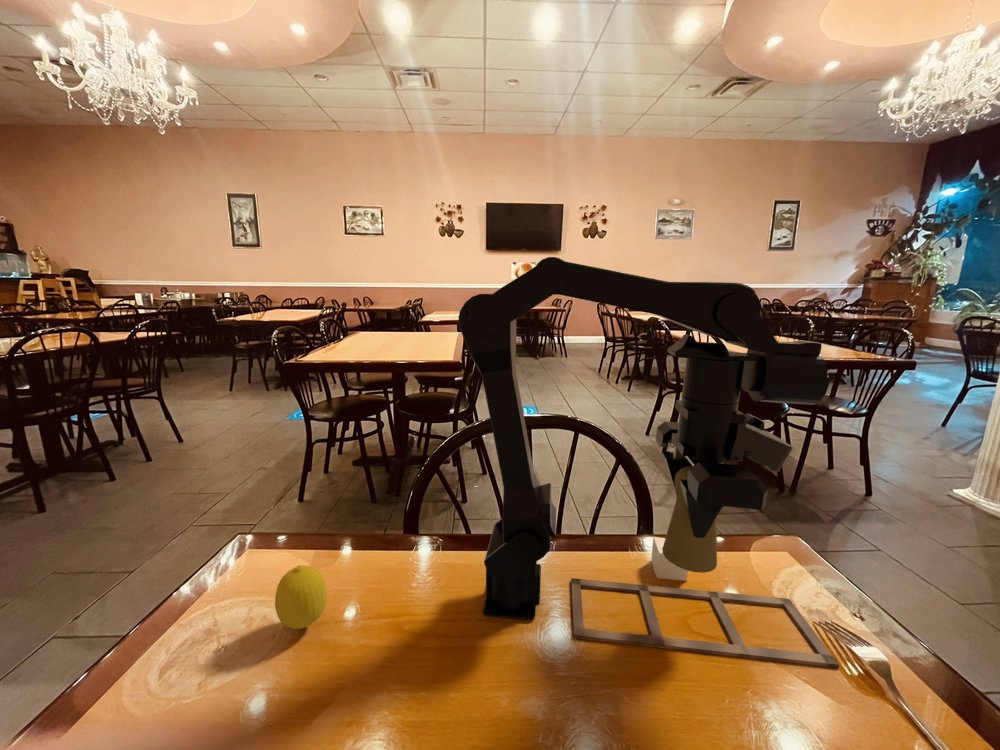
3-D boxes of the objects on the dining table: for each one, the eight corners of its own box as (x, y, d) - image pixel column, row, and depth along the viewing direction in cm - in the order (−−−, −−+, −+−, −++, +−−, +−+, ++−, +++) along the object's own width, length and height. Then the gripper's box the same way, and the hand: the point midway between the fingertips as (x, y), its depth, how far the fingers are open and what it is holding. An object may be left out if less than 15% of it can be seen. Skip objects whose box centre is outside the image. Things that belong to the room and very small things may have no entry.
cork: (723, 576, 48) (737, 485, 46) (667, 568, 49) (678, 478, 47) (709, 546, 54) (720, 463, 51) (658, 538, 55) (668, 458, 53)
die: (657, 578, 60) (659, 552, 60) (651, 561, 64) (653, 536, 63) (686, 581, 60) (689, 555, 59) (679, 563, 64) (681, 539, 63)
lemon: (337, 626, 51) (333, 566, 50) (289, 653, 47) (283, 589, 46) (316, 603, 55) (312, 546, 53) (270, 627, 51) (264, 567, 49)
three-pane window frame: (573, 638, 50) (574, 634, 50) (571, 580, 60) (571, 578, 59) (838, 667, 46) (839, 664, 46) (788, 601, 56) (789, 598, 56)
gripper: (842, 429, 37) (811, 587, 40) (749, 385, 56) (733, 496, 59) (709, 420, 39) (689, 573, 42) (661, 380, 57) (649, 488, 60)
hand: (692, 526), depth 50 cm, fingers closed on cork, 4 cm apart
